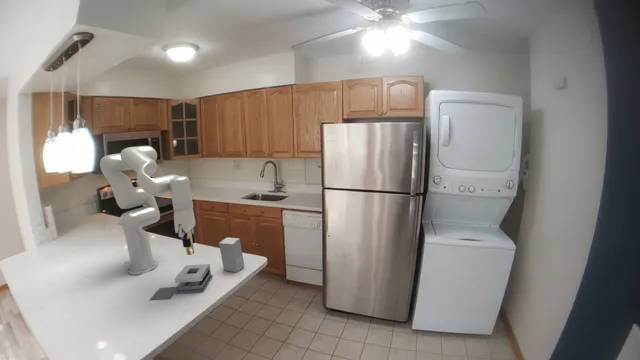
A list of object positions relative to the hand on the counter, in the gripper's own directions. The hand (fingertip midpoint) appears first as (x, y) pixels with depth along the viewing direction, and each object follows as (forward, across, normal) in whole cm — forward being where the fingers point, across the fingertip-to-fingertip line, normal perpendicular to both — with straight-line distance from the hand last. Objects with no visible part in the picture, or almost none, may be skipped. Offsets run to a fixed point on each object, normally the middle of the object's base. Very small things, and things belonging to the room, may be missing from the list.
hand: (189, 244), depth 119 cm
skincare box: (+20, -13, +14) cm, 28 cm away
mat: (+20, +5, -11) cm, 24 cm away
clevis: (+20, 0, 0) cm, 20 cm away
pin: (+4, 0, 0) cm, 4 cm away
